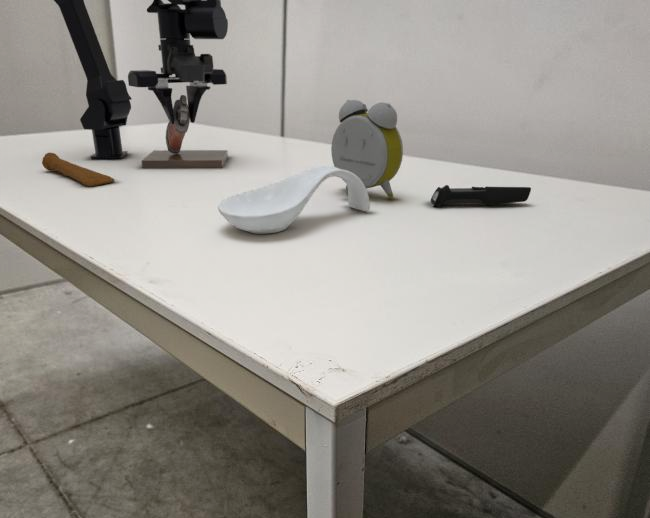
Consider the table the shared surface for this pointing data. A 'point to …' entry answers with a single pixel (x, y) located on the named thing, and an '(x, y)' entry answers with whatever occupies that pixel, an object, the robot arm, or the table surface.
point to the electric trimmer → (479, 195)
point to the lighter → (178, 125)
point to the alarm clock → (368, 143)
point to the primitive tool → (74, 171)
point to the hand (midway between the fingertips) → (182, 123)
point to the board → (186, 159)
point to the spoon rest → (286, 200)
